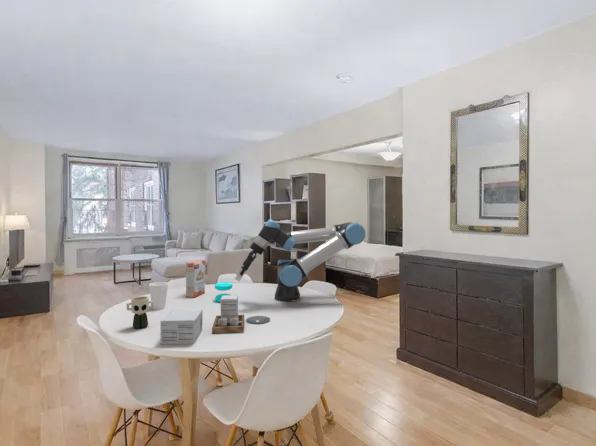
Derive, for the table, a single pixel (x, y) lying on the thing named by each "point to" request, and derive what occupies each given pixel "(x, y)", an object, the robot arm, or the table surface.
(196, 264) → the cracker box
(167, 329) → the supplement box
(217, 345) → the table surface
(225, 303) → the supplement box
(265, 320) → the coaster
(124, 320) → the table surface
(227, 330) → the tray
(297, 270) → the robot arm
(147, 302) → the character mug
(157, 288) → the foam cup
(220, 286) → the donuts
